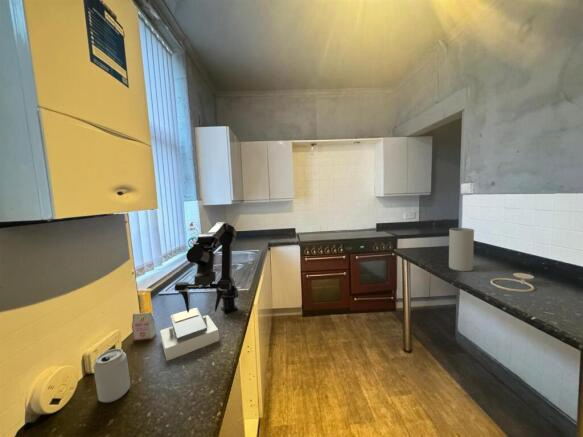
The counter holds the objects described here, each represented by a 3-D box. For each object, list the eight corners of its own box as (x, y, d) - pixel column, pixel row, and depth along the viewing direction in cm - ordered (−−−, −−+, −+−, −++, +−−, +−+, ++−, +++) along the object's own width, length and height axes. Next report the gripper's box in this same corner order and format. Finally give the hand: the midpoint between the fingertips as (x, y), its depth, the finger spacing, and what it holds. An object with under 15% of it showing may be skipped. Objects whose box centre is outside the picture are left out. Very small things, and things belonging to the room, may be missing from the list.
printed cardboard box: (138, 334, 100) (135, 311, 99) (156, 333, 100) (153, 310, 99) (133, 340, 96) (130, 316, 95) (151, 338, 96) (148, 314, 95)
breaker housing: (161, 341, 94) (159, 322, 93) (208, 325, 104) (207, 307, 103) (166, 361, 83) (163, 339, 82) (219, 340, 93) (217, 321, 92)
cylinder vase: (465, 265, 160) (466, 227, 158) (477, 271, 148) (478, 230, 145) (444, 265, 162) (445, 228, 159) (455, 272, 149) (456, 231, 146)
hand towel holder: (482, 274, 132) (511, 269, 137) (482, 282, 133) (511, 277, 137) (517, 286, 116) (549, 279, 120) (517, 294, 116) (549, 288, 121)
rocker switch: (170, 319, 96) (169, 315, 95) (197, 310, 101) (197, 306, 101) (176, 342, 84) (176, 337, 84) (207, 331, 90) (207, 326, 90)
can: (93, 398, 69) (87, 358, 67) (123, 380, 75) (117, 343, 74) (105, 409, 65) (99, 367, 64) (135, 389, 71) (130, 351, 70)
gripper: (173, 263, 82) (167, 313, 77) (230, 263, 86) (228, 311, 81) (180, 268, 92) (175, 312, 87) (231, 268, 96) (229, 310, 91)
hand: (201, 311), depth 86 cm, fingers open, 9 cm apart
